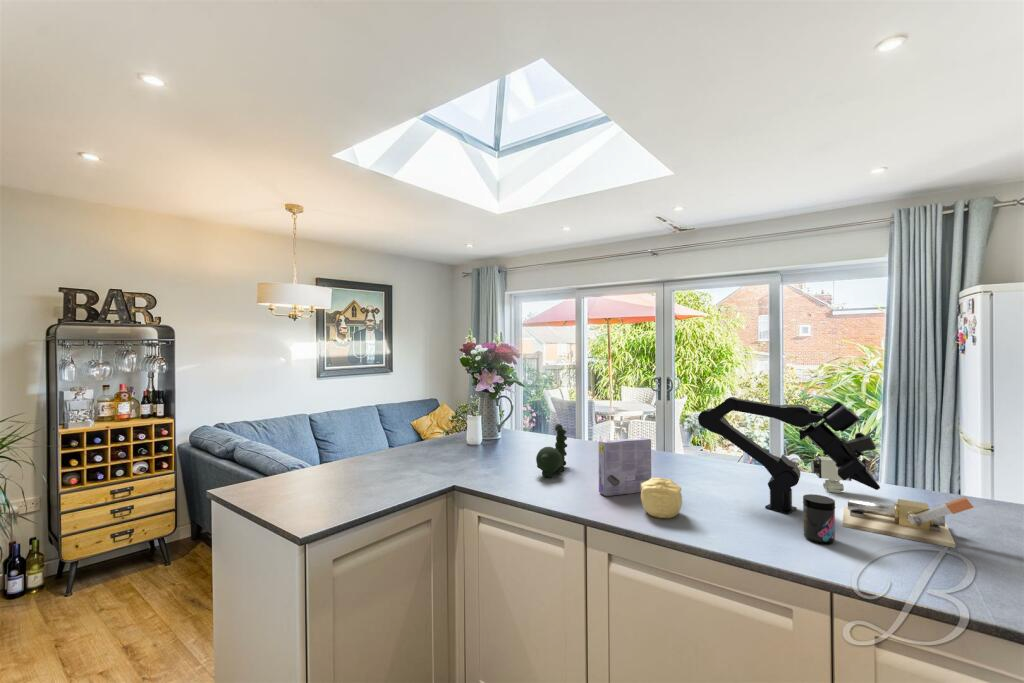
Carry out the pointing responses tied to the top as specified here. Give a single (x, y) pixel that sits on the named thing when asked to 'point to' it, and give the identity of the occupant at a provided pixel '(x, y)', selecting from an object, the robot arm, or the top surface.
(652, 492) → the sculpture
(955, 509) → the valve lever
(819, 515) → the supplement container
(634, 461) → the cake pan box
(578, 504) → the top surface
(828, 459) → the pneumatic valve
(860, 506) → the valve pipe
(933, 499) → the top surface
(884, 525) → the mounting board
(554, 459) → the toy figurine
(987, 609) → the top surface
